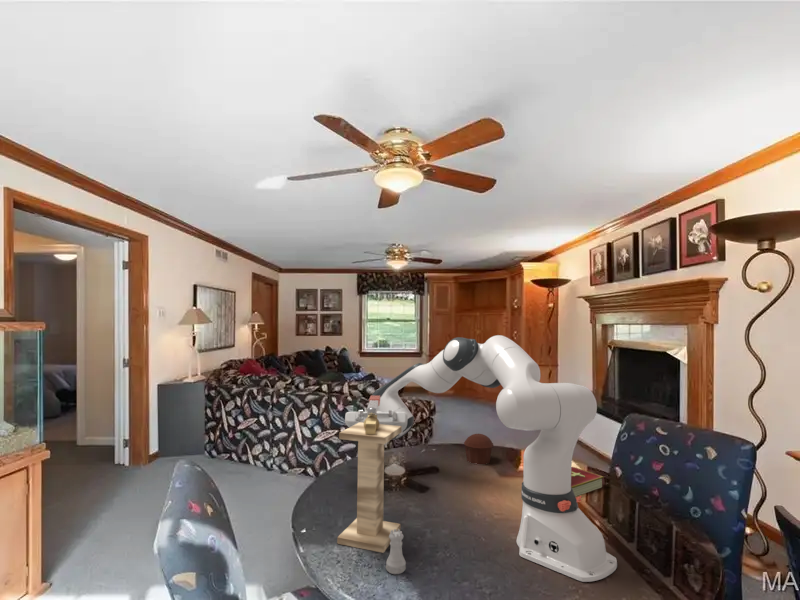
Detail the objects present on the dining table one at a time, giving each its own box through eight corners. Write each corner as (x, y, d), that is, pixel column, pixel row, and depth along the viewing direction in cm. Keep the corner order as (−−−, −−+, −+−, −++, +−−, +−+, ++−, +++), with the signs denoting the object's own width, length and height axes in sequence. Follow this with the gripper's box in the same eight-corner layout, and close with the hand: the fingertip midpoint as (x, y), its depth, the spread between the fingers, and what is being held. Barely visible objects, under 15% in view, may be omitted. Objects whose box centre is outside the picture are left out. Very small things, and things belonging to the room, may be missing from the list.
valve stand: (383, 552, 103) (385, 423, 104) (337, 543, 107) (339, 419, 108) (400, 529, 114) (401, 413, 115) (358, 522, 118) (359, 409, 119)
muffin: (486, 468, 163) (486, 440, 163) (459, 462, 168) (459, 436, 169) (497, 459, 173) (497, 433, 173) (470, 454, 178) (471, 429, 179)
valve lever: (377, 415, 111) (377, 408, 111) (365, 415, 111) (365, 408, 111) (380, 401, 130) (380, 395, 130) (370, 401, 130) (370, 395, 130)
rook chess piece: (405, 563, 98) (405, 527, 99) (406, 575, 94) (407, 536, 94) (385, 563, 98) (386, 527, 98) (385, 575, 94) (386, 536, 94)
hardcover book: (532, 489, 143) (532, 476, 143) (571, 477, 155) (571, 465, 155) (564, 502, 133) (564, 488, 133) (603, 488, 145) (603, 475, 145)
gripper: (347, 415, 151) (343, 402, 139) (406, 416, 151) (408, 403, 139) (345, 434, 147) (341, 422, 136) (406, 435, 147) (408, 422, 136)
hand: (375, 412), depth 137 cm, fingers open, 8 cm apart
